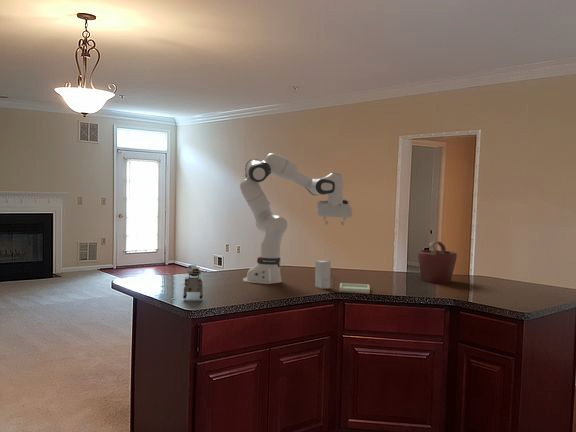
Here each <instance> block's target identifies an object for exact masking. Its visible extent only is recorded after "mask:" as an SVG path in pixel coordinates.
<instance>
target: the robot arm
mask: <svg viewBox="0 0 576 432" xmlns="http://www.w3.org/2000/svg"><path fill="white" fill-rule="evenodd" d="M244 169H245V179H243V180H242V181H241V182H240V184H239V189H240V191H241V194H242V196H243V198H244V200H245V201H246V203H247V204H248V207H250V209H251V211H252V213H253V216H254V219H255V225H256V228H257V229H258V230H260V231H261V232H262V233H265V235H264V239H263V240H262V241H261V244H260V256H258V257H257V258H256V264H255V265H253V266H252V267H250V268H249V269H248V271H247V272H246V273H247V274H246V277H243V278H242V282H244V283H253V284H263V285H269V284H270V285H271V284H278V283H279V284H280V283H282V282H283V281H282V277H281V275H282V274H281V261H282V260H281V244H282V240H283V236H284V233H285V232H286V231H287V230H288V221H287V219H286V218H285V217H283V216H281V215H278V214H273V212H272V210H271V207H270V206H271V205H270V201H269V198H267V196H266V193H265V192H264V190H263V188H262V187H261V185H260V183H261V182H263V181H265V180H266V179H267V177H268V176H270V174H273V175H276V176H278V177H280V178H282V179H284V180H289V181H292V182H294V183H296V184H298V185H300V186H303V187H304V188H305V189H306V190H307V192H308V193H310V194H311V195H312V196H324V195H327V200H319V201H318V202H317V203H316V204H317V205H316V207H317V214H316V215H317V217H322V219H323V221H324V225H328V222H329V221H327V220H326V218H328V217H329V218H330V217H332V218H343V221H341V223H340V224H341V226H344V225H345V224H344V223H345V221H346V220H347V218H352V216H353V210H352V206H351V201H350V200H348V199H346V198H344V194H343V191H344V177H343V176H342V174H340V173H335V172H331V173H329V174H328V175H325V176H323V177H320V178H311V177H310V176H307V175H305V174H304V173H302V172H300V170H299V168H298V165H297V164H296V163H295V162H294V161H292V160H290V159H289V158H287V157H285V156H282V155H281V154H277V153H273V152H270V153H268V154H267V155H266V156H265V157H264V159H263V160H260V159H258V158H253V159H250V160H248V161H247V162H246V164H245V168H244Z"/></svg>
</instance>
